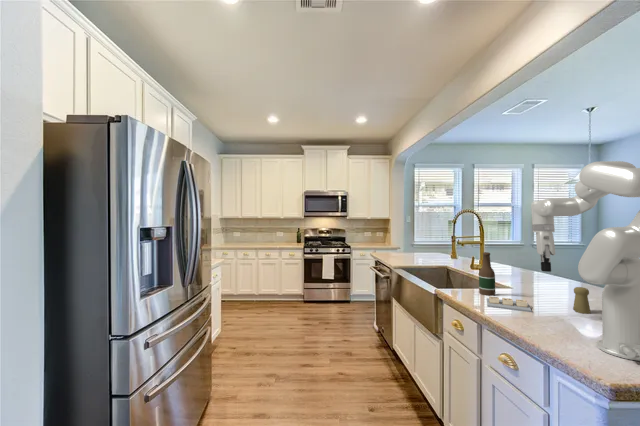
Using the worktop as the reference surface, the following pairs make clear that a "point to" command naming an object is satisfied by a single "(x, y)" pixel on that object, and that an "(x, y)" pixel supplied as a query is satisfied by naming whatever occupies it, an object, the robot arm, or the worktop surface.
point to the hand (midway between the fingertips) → (546, 271)
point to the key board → (514, 307)
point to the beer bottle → (486, 277)
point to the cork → (581, 300)
